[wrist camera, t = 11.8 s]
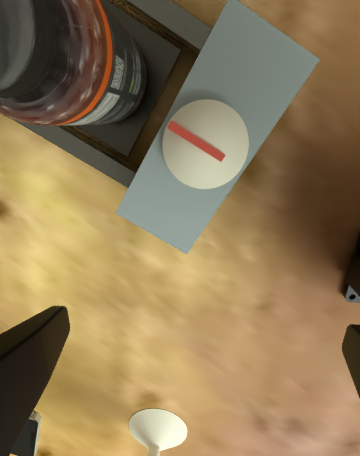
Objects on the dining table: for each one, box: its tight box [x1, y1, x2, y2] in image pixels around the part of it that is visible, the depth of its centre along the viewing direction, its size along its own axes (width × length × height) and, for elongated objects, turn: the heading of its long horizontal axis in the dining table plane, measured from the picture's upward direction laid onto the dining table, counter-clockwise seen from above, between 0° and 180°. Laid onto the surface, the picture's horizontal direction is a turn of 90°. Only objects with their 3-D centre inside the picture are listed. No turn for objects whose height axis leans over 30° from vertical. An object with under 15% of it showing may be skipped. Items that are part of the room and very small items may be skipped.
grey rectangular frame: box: [13, 0, 212, 187], centre depth 17 cm, size 20×11×2 cm, turn 59°
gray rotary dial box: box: [116, 0, 320, 254], centre depth 16 cm, size 5×12×6 cm, turn 149°
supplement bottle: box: [0, 0, 147, 126], centre depth 12 cm, size 6×6×11 cm
